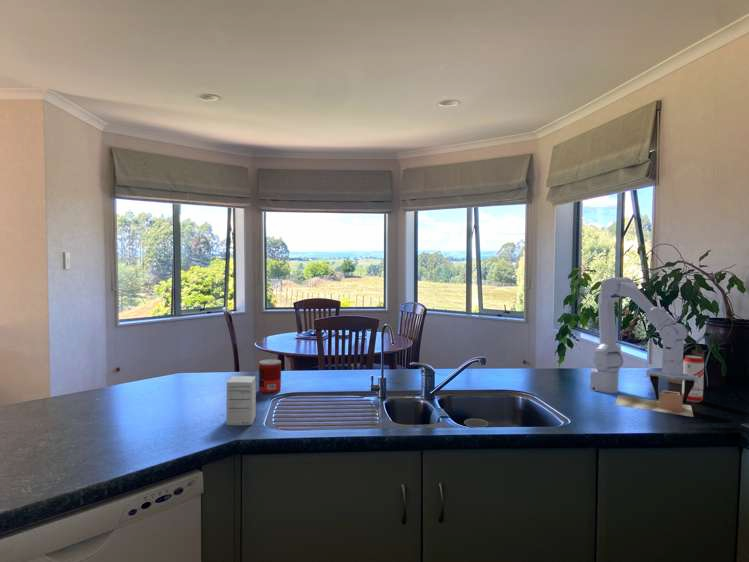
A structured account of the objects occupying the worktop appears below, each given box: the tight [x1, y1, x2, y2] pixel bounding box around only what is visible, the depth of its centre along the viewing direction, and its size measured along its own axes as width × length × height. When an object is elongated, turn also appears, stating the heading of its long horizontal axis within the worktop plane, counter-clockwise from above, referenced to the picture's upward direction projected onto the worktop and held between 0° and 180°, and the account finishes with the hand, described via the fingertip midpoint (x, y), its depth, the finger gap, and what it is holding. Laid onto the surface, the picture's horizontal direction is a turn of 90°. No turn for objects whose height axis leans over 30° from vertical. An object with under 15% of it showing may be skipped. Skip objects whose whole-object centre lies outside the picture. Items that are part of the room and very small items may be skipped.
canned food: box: [258, 358, 282, 395], centre depth 170 cm, size 8×8×11 cm
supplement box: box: [226, 375, 257, 426], centre depth 138 cm, size 7×7×13 cm
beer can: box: [681, 354, 705, 403], centre depth 169 cm, size 6×6×16 cm
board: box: [614, 395, 694, 418], centre depth 158 cm, size 22×14×4 cm, turn 59°
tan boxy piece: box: [658, 389, 684, 411], centre depth 155 cm, size 6×5×5 cm
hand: (670, 400), depth 155 cm, fingers open, 7 cm apart
